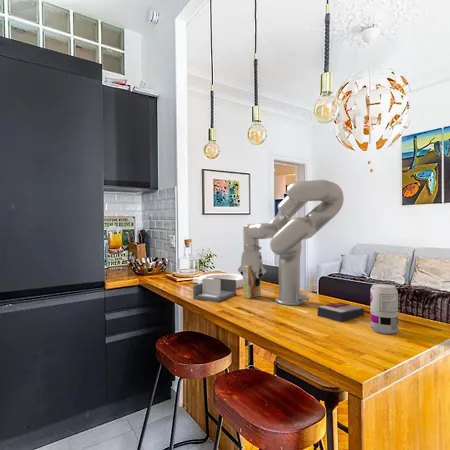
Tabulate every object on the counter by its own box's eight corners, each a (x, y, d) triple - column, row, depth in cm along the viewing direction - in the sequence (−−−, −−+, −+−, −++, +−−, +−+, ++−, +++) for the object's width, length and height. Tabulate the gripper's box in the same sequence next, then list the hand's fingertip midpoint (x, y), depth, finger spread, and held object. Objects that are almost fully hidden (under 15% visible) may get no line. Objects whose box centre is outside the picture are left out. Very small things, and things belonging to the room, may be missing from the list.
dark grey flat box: (364, 306, 125) (342, 311, 116) (364, 317, 125) (341, 323, 116) (339, 301, 134) (317, 305, 125) (339, 311, 134) (316, 316, 125)
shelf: (236, 294, 164) (236, 275, 164) (218, 302, 148) (218, 281, 148) (212, 291, 170) (212, 274, 170) (193, 298, 155) (193, 279, 155)
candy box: (255, 294, 163) (254, 264, 163) (261, 295, 160) (260, 265, 160) (242, 297, 157) (242, 266, 157) (249, 298, 154) (248, 266, 154)
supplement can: (366, 330, 107) (366, 285, 107) (376, 325, 113) (375, 282, 113) (392, 336, 101) (392, 289, 101) (401, 330, 107) (401, 285, 107)
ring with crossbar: (190, 283, 197) (190, 275, 197) (230, 279, 210) (230, 272, 210) (210, 292, 172) (210, 283, 172) (254, 286, 185) (254, 278, 185)
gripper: (270, 248, 157) (271, 285, 157) (239, 248, 166) (239, 283, 166) (264, 249, 151) (265, 288, 151) (232, 249, 159) (232, 285, 159)
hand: (251, 285), depth 158 cm, fingers closed on candy box, 5 cm apart
